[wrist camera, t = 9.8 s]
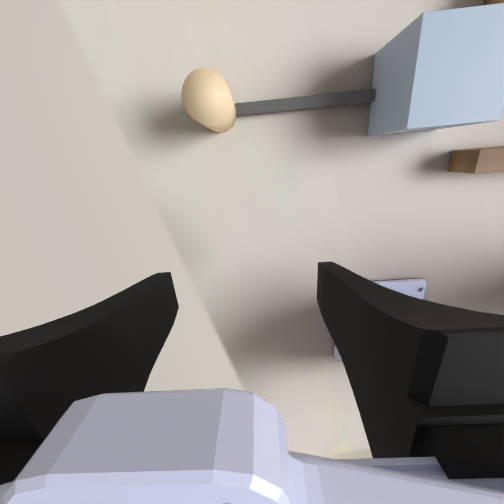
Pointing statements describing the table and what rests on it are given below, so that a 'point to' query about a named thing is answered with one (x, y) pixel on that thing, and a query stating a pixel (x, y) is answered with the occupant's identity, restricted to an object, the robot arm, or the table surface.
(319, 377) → the table surface
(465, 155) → the walnut lane
